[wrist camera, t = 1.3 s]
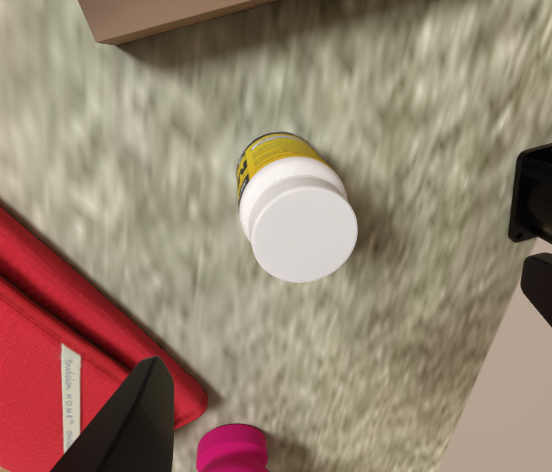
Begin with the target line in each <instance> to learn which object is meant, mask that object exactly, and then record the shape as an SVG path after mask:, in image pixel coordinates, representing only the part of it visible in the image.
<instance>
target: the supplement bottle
mask: <svg viewBox="0 0 552 472" xmlns="http://www.w3.org/2000/svg"><path fill="white" fill-rule="evenodd" d="M237 188H238V202H239V217H240V221H241V225H242V228H243V231H244V233H245V235H246V237H247V238H248V240H249V241H250V242H251V245H252V249H253V252H254V255H255V257H256V259H257V261H258V262H259V264H260V265H261V266H262V268H263V269H264V270H265V271H267V272H268V273H269V274H271V275H272V276H274V277H276V278H278V279H280V280H284V281H287V282H294V283H303V282H311V281H315V280H318V279H321V278H324V277H326V276H328V275H330V274H331V273H333V272H334V271H336V270H337V269H338V268H339V267H341V266H342V265H343V264H344V263H345V261H346V260H347V259H348V258H349V256H350V255H351V253H352V251H353V249H354V247H355V244H356V240H357V235H358V225H357V219H356V215H355V213H354V211H353V209H352V207H351V206H350V204H349V203H348V199H347V194H346V191H345V188H344V185H343V183H342V181H341V179H340V178H339V176H338V175H337V174H336V172H335V171H334V170H333V169H332V168H331V167H330V166H329V165H328V164H327V163H326V162H325V161H324V160H323V159H322V158H321V157H320V156H319V155H318V154H317V153H316V152H315V151H314V150H313V148H312V147H311V146H310V145H309V144H308V143H307V142H306V141H305V140H303V139H302V138H301V137H299V136H297V135H295V134H293V133H290V132H285V131H272V132H268V133H264V134H262V135H260V136H258V137H256V138H255V139H253V140H252V141H251V142H250V143H249V144H248V145H247V146H246V147H245V149H244V150H243V152H242V154H241V155H240V158H239V161H238V165H237Z"/></svg>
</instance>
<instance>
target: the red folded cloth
mask: <svg viewBox="0 0 552 472" xmlns="http://www.w3.org/2000/svg"><path fill="white" fill-rule="evenodd" d="M153 356H160V357H161V358H162V360H163V362H164V363H165V365H166V367H167V369H168V370H169V372H170V374H171V375H172V377H173V380H174V430H175V429H177V428H179V427H182V426H184V425H186V424H188V423H189V422H192V421H194V420H196V419H197V418H199V417H200V416H201V415H202V414H203V413H204V412H205V410H206V409H207V405H208V394H207V392H206V391H205V390H204V389H203V388H202V387H201V386H200V384H199V383H198V382H197V381H196V380H195V379H194V378H193V377H192V376H191V375H188V374H187V373H186V372H185V371H184V370H183V369H182V368H181V367H180V366H179V365H178V364H177V363H176V362H175V361H174V360H173V359H172V358H171V357H170V356H169V355H168V354H167V353H165V352H164V351H163V350H162V349H161V348H160V347H159V346H158V345H157V344H156V343H155V342H154V341H153V340H152V339H151V338H150V337H149V336H147V335H146V334H145V333H144V332H143V331H142V330H141V329H140V328H139V327H138V326H137V325H136V324H134V323H133V322H132V321H131V320H130V319H129V318H128V317H127V316H126V315H124V314H123V313H122V312H121V311H120V310H119V309H118V308H116V307H115V306H114V305H113V304H112V303H111V302H110V301H109V300H107V299H106V298H105V297H104V296H103V295H102V294H101V293H100V292H98V291H97V290H96V289H95V288H94V287H93V286H92V285H91V284H89V283H88V282H87V281H86V280H85V279H84V278H83V277H82V276H81V275H79V274H78V273H77V272H76V271H75V270H74V269H73V268H72V267H70V266H69V265H68V264H67V263H66V262H65V261H64V260H62V259H61V258H60V257H59V256H58V255H57V254H56V253H54V252H53V251H52V250H51V249H50V248H48V247H47V246H46V245H44V244H43V243H42V242H41V241H40V240H38V239H37V238H36V237H35V236H34V235H32V234H31V233H30V232H29V231H28V230H26V229H25V228H24V227H23V226H22V225H21V224H20V223H18V222H17V221H16V220H15V219H14V218H13V217H11V216H10V215H9V214H8V213H7V212H6V211H5V210H4V209H3V208H1V207H0V467H2V468H4V469H6V470H8V471H11V472H49V471H50V470H51V469H52V468H53V467H54V465H55V464H56V463H57V462H58V461H59V459H60V458H61V457H62V456H63V454H64V453H65V452H66V451H67V450H68V448H69V447H70V446H71V445H72V443H73V442H74V441H75V440H76V439H77V437H78V436H79V435H80V434H81V432H82V431H83V430H84V429H85V428H86V426H87V425H88V424H89V423H90V421H91V420H92V419H93V418H94V417H95V415H96V414H97V413H98V412H99V410H100V409H101V408H102V407H103V406H104V404H105V403H106V402H107V401H108V399H109V398H110V397H111V396H112V395H113V393H114V392H115V391H116V390H117V389H118V387H119V386H120V385H121V384H122V382H123V381H124V380H125V379H126V378H127V376H128V375H129V374H130V373H131V371H132V370H133V369H134V368H135V367H136V365H137V364H138V363H139V362H140V361H141V360H143V359H145V358H149V357H153Z"/></svg>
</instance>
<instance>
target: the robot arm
mask: <svg viewBox="0 0 552 472" xmlns="http://www.w3.org/2000/svg"><path fill="white" fill-rule="evenodd" d="M528 156H529V157H528ZM527 157H528V159H527V160H526V158H527ZM508 237H509V239H511V240H513V241H514V242H520V241H523V240H527V239H531V238H534V237H539V238H541V239H543V240H545V241H547V242H549V243H550V244H552V143H550V144H547V145H543V146H539V147H535V148H532V149H528V150H525V151H523V152H521V153H520V154H519V156H518V158H517V163H516V172H515V180H514V189H513V198H512V206H511V215H510V224H509V232H508ZM520 285H521V289H522V291H523V293H524V294H525V296H526V297H527V298H528V299H529V300H530V302H531V303H532V304H533V305H534V306H535V308H536V309H537V310H538V311H539V313H540V314H541V315H542V316H543V318H544V319H545V320H546V321H547V322H548V323H549V325H550V326H551V327H552V254H550V253H539V254H536V255H532V256H528V257H527V258H526V259H525V260H524V263H523V269H522V276H521V283H520ZM173 446H174V380H173V377H172V375H171V374H170V372H169V370H168V369H167V367H166V365H165V363H164V362H163V360H162V358H161V357H160V356H153V357H149V358H145V359H143V360H141V361H140V362H139V363H138V364H137V365H136V367H135V368H134V369H133V370H132V371H131V373H130V374H129V375H128V376H127V378H126V379H125V380H124V381H123V382H122V384H121V385H120V386H119V387H118V389H117V390H116V391H115V392H114V393H113V395H112V396H111V397H110V398H109V399H108V401H107V402H106V403H105V404H104V406H103V407H102V408H101V409H100V410H99V412H98V413H97V414H96V415H95V417H94V418H93V419H92V420H91V421H90V423H89V424H88V425H87V426H86V428H85V429H84V430H83V431H82V432H81V434H80V435H79V436H78V437H77V439H76V440H75V441H74V442H73V443H72V445H71V446H70V447H69V448H68V450H67V451H66V452H65V453H64V454H63V456H62V457H61V458H60V459H59V461H58V462H57V463H56V464H55V465H54V467H53V468H52V469H51V470H50V471H49V472H171V470H172V461H173Z"/></svg>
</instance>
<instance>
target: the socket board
mask: <svg viewBox="0 0 552 472" xmlns="http://www.w3.org/2000/svg"><path fill="white" fill-rule="evenodd" d="M277 1H280V0H78V2H79V4H80V6H81V9H82V11H83V13H84V16H85V18H86V20H87V22H88V25H89V27H90V29H91V32H92V34H93V36H94V39H95V41H96V42H97V43H103V44H109V45H119V44H122V43H126V42H130V41H133V40H137V39H141V38H144V37H148V36H152V35H155V34H159V33H163V32H166V31H170V30H174V29H177V28H181V27H185V26H188V25H192V24H196V23H199V22H203V21H207V20H211V19H214V18H218V17H222V16H225V15H229V14H233V13H236V12H240V11H244V10H247V9H251V8H255V7H258V6H262V5H266V4H269V3H273V2H277Z"/></svg>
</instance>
